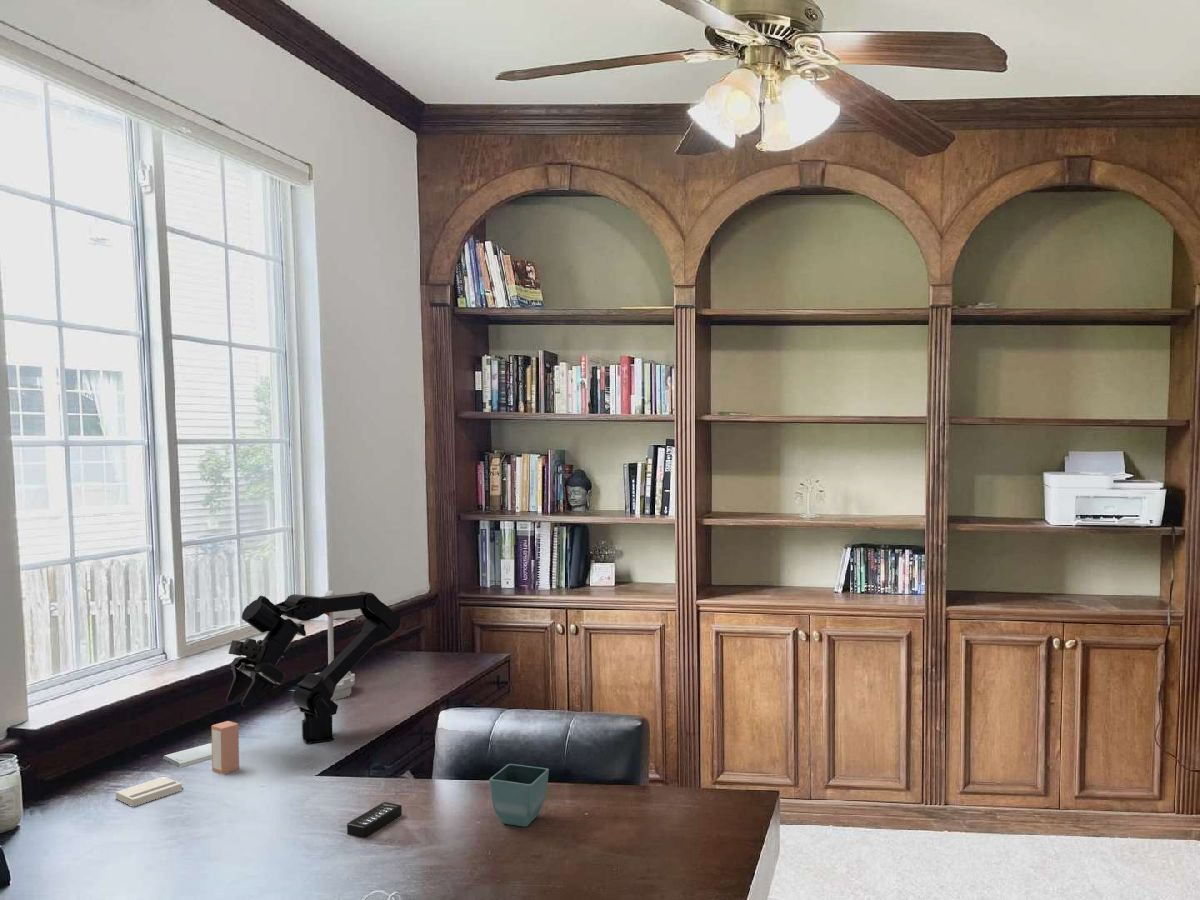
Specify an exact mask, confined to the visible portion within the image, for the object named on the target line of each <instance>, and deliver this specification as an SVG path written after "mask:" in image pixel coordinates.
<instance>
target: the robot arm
mask: <svg viewBox="0 0 1200 900" xmlns="http://www.w3.org/2000/svg"><path fill="white" fill-rule="evenodd" d="M352 610H359V611H360V613H361V614H362V617H364V618H365V620H364V622H363V625H362V628H361V631H360V632H359V634H357V635H356V637H354V638H353V640H351V642H349V643H348V645H347V646H346V647H345V648H344V649H343V650H341V652H340V653H338V654H337V656H335V658H334V660H333V661H332V662H331V663H330V664H329V665H328V664H327V666H326V667H325V668H324V669H322V671H320V672H318V673H319V674H317V675H316V674H315V673H312V672H307V674H306V675H305V676H304V678H303V679H302V680H301V681H299V682H297V683H296V686H297V687H295V689H294V690H293V696H292V697H293V702H294V704H295V705H296V706H297V707H298V709H299V712H300V713H303V719H301V738H302V740H303V741H304V742H305V744H307V745H308V744H315V743H321V742H323V743H324V742H328V741H329V740H330V741H333V740H335V738H334V735H333V716H334V715H336V714H337V711H338V708H339V705H338V703H336V702H334V701H333V700H331V698H332V696H333V693H334V690H335V687H336V685H337V684H338V682H339V681H340V680H341V679H342V678H343V677H344V676H345V675H346V674H347V673H348V672H349V671H350V672H351V670H352V669H353V668H354V667H355V666H356V665H357V664H358V663H359V662H360V660H362V659H363V658H364V657H365V655H367V654H368V653H369V651H370V650H371V649H372V648H373V647H374V646H375V645H377V644H378V643H380V642H382V641H384V640H388V638H390V637H391V636H392V635H394V634H395V633H397V632H398V630H399V629H400V627H401V617H400V614H399V613H398V612H397V611H394V610H392V609H391V608H390V607H389V606H388V605H386V604H385V603H384V602H382V601H381V600H380V599H379V598H378V597H377V596H376V595H375V594H374V593H372V592H368V591H359V592H353V593H344V594H343V593H342V594H335V595H333V596H325V595H324V596H315V595H308V594H306V595H305V594H290V595H288V596H287V598H286V599H285V600H284V601H282V602H278V603H276V604H274V603H273V602H272V601H270V600H269V598H268V597H266V596H265V595H259V596H258V597H257V599H255V600H253V601H251V602H250V603H248V605H246V607H245V608H244V610H243V611H242V614H241V619H242V621H244V622H245V623H247V624H248V625H250V627H252V628H254V629H256V630H257V631H259V632H260V633H262V634H263V633H266V632H267V633H266V635H265V636H264V638H263V639H259V640H257V639H254V638H246V639H245V640H244V641H241V640H235V639H234V640H233V639H232V640H231V643H230V647H229V649H228V655H234V656H237V657H234V659H233V660H232V662H231V663H230V666H231V667H230V669H231V671H232V675H233V677H232V682H231V685H230V687H229V691H228V693H227V695H226V699H225V700H226V702H228V703H232V702H233V701H234V700H236V699H237V697H239V696H240V695H241V694H243V693H244V692H245V690H246V693H245V695H244V696H243V697H242V701H241V702H240V705H241V706H243V707H247V706H248V705H250V704H251V703H253V702H254V701H255V700H257V699H258V698H260V697H261V696H263V695H265V694H266V693H267V692H269V691H270V690H273V688H276V687H277V686H278V685H282V683H283V681H284V680H285V678H286V672H285V671H284V670H282V669H281V668H279V667H278V666H277V664H278V663H279V661H280V660H281V658H285V657H286V656H287V655H288V653H287V652H286V651H287V649H288V648H289V647H290V645H291V643H292V642H293V640H294V639H295V637H296V636H297V635H298V636H302V637H306V636H307V632H306V629H305V624H303V623H296V622H295V621H294V620H296V621H297V620H298V621H302V622H308V621H311V620H314V619H317V618H319V617H321V616H322V615H326V614H325V613H330V612H333V613H336V612H337V613H338V612H346V611H352ZM282 616H284V617H287V618H286V619H285V618H283V617H282ZM292 619H293V620H292ZM330 741H329V742H330Z"/></svg>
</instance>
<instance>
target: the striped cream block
mask: <svg viewBox="0 0 1200 900" xmlns="http://www.w3.org/2000/svg"><path fill="white" fill-rule="evenodd" d="M182 785H183V784H182V783H181V782H179V781H176V780H173V779H171V778H168V777H166V776H162V777H158V778H154V779H151V780H149V781H145V782H142V783H139V784H136V785H133V786H130V787H129V786H128V787H126V788H123V789H120V790H117V791H115V800H116V799H118V800H117V801H119V800H120V801H119V802H121V801H122V802H121V803H123V802H124V804H125V803H126V804H125V805H127V804H128V806H130V805H131V806H130V807H132V806H133V807H132V808H134V806H135V807H138V806H141V805H143V803H144V804H147V803H150V802H152V801H151V800H153V801H155V799H156V800H158V798H159V799H161V798H160V797H162V798H164V796H165V797H167V796H170V795H173V794H176V793H179V792H181V790H184V787H182ZM178 791H179V792H178ZM175 792H176V793H175ZM172 793H173V794H172ZM169 794H170V795H169ZM166 795H167V796H166ZM149 801H150V802H149ZM146 802H147V803H146ZM140 804H141V805H140ZM137 805H138V806H137Z"/></svg>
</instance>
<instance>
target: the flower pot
mask: <svg viewBox="0 0 1200 900" xmlns="http://www.w3.org/2000/svg"><path fill="white" fill-rule="evenodd" d="M549 771H550V769H549V768H547V767H546V768H545V767H539V766H531V765H523V764H516V763H515V764H514V763H508V764H506V765H505V766H504V767H502V768H501V769H500V770H499V771H498V772H496V773H495V774H494V775H492V776H491V777H490V778H489V787H490V795H491V802H492V807H493V810H494V811H495V812H494V813H495V814H496V816H497V817H498V819H499V820H500V822H501V823H503V824H505V825H512V826H518V827H528V826H529V825H530V824H531V823H532V822H533V821H534V820H535V819H537V817H538V815H539V813H540V811H541V809H542V807H543V806H544V802H545V799H546V796H547V789H548V781H549V773H550V772H549Z"/></svg>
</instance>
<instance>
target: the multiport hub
mask: <svg viewBox="0 0 1200 900" xmlns="http://www.w3.org/2000/svg"><path fill="white" fill-rule="evenodd" d="M402 808H403V807H402V805H401V804H398V803H392V802H387V801H383V802H382V803H380V804H378V805H376V806H374V807H373V808H371V809H370V810H368V811H366V812H364V813H363V814H361V815H359V816H358V817H357V816H356V817H355V818H354V819H352V820H350V821H349V822H347V823H346V833H347V835H348V836H354V837H357V838H362V839H367V838H369V837H370V836H372V835H373V834H375V833H376V832H378V831H379V830H381V829H383V828H385V827H386V826H388V825H389V824H391V823H392V822H394V821H395V819H396V820H397V819H399V818H400V816H401V815H402V816H403V813H402V810H403V809H402ZM402 816H401V817H402ZM398 817H399V818H398ZM390 822H391V823H390ZM387 824H388V825H387Z"/></svg>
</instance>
